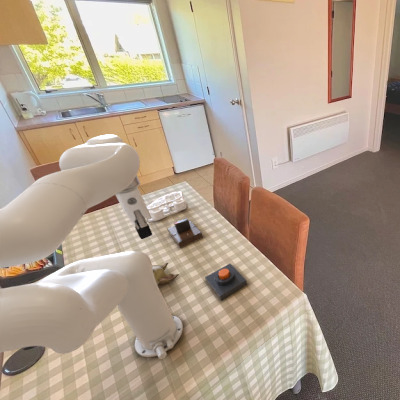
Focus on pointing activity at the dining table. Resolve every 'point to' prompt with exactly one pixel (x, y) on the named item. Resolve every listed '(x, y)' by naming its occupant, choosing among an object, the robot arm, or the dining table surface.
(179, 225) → the handle
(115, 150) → the robot arm
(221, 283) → the button block
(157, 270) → the ceramic sculpture
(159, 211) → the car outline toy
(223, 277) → the button
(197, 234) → the panel
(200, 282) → the dining table surface
